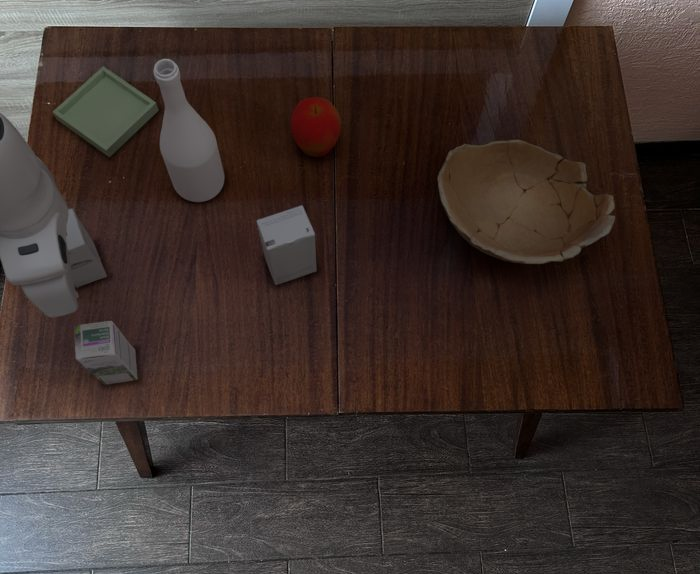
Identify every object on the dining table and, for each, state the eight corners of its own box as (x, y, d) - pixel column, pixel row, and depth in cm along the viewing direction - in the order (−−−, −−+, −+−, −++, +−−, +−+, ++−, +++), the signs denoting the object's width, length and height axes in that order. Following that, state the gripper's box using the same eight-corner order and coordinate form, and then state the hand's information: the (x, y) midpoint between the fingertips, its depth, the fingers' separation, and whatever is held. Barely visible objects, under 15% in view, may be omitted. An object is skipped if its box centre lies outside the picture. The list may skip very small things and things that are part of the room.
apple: (344, 163, 131) (347, 123, 120) (298, 171, 130) (296, 132, 119) (333, 122, 134) (334, 79, 123) (287, 131, 133) (284, 88, 122)
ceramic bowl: (562, 134, 133) (593, 93, 118) (601, 268, 129) (638, 244, 115) (411, 164, 131) (424, 127, 116) (447, 302, 127) (464, 282, 112)
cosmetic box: (306, 245, 125) (304, 201, 111) (317, 273, 124) (317, 233, 110) (262, 259, 124) (254, 217, 110) (273, 288, 122) (267, 249, 108)
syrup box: (136, 348, 118) (111, 317, 104) (138, 381, 116) (114, 354, 102) (101, 353, 117) (72, 322, 103) (103, 387, 115) (74, 359, 102)
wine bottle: (166, 197, 127) (121, 84, 99) (184, 154, 130) (145, 34, 102) (215, 210, 127) (184, 101, 99) (232, 167, 130) (207, 49, 102)
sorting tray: (109, 157, 130) (105, 150, 127) (56, 119, 132) (52, 111, 130) (158, 110, 134) (156, 102, 131) (106, 74, 136) (103, 65, 134)
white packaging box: (67, 293, 120) (39, 260, 109) (55, 257, 123) (26, 222, 111) (108, 278, 122) (85, 244, 110) (95, 243, 124) (71, 206, 112)
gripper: (-14, 142, 83) (31, 203, 96) (8, 294, 77) (53, 337, 90) (39, 131, 84) (77, 193, 97) (66, 280, 78) (102, 324, 91)
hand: (66, 263), depth 93 cm, fingers open, 8 cm apart
